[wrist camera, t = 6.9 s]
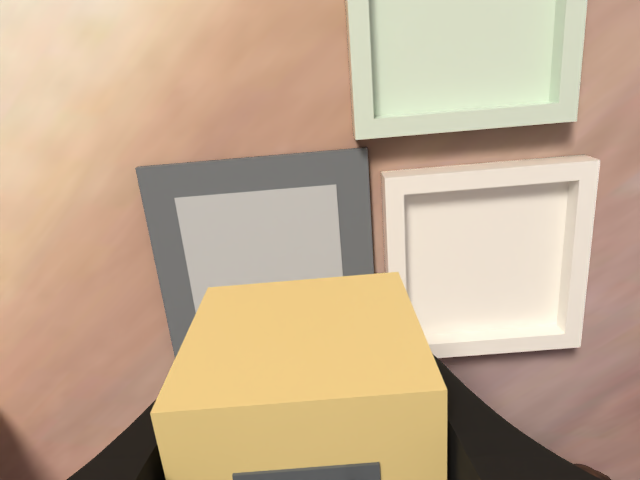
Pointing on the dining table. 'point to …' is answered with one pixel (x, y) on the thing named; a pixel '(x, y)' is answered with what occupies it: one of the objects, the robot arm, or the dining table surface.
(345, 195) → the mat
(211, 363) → the letter cube
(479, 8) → the dish green
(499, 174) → the dish white
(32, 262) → the dining table surface
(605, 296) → the dining table surface
